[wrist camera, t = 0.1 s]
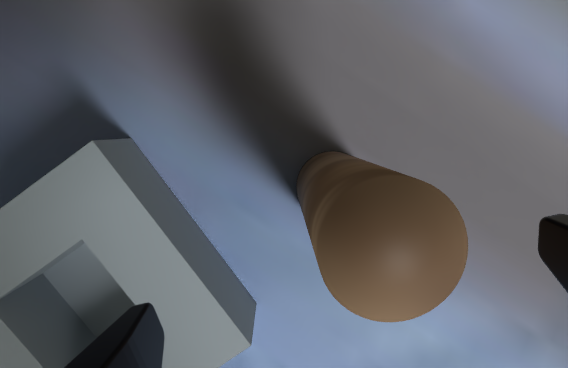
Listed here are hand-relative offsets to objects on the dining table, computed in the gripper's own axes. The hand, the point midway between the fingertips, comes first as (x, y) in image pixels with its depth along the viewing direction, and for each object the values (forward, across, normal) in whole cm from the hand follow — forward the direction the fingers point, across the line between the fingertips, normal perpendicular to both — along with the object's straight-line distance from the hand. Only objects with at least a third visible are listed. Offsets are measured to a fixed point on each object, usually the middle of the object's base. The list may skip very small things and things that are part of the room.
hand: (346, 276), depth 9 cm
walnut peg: (+15, -2, +4) cm, 16 cm away
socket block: (+14, +13, +7) cm, 21 cm away
